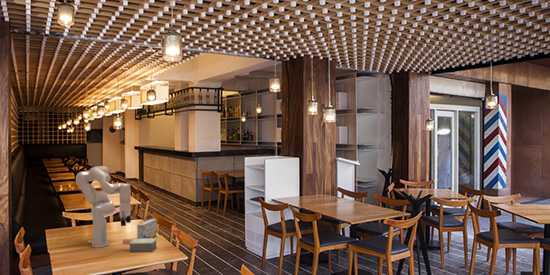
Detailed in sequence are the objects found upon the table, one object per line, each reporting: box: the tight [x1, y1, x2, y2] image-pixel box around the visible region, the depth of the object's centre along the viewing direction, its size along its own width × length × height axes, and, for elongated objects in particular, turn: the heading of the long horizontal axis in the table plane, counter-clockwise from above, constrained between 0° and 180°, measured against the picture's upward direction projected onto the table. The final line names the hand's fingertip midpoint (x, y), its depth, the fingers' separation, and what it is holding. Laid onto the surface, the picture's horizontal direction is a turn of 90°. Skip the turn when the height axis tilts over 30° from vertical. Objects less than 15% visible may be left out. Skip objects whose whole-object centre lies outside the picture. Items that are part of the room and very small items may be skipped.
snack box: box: [136, 218, 158, 239], centre depth 315 cm, size 21×6×15 cm, turn 168°
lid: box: [122, 237, 158, 246], centre depth 290 cm, size 23×11×3 cm, turn 90°
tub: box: [129, 240, 157, 253], centre depth 290 cm, size 16×10×6 cm, turn 90°
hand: (125, 224), depth 289 cm, fingers open, 9 cm apart
